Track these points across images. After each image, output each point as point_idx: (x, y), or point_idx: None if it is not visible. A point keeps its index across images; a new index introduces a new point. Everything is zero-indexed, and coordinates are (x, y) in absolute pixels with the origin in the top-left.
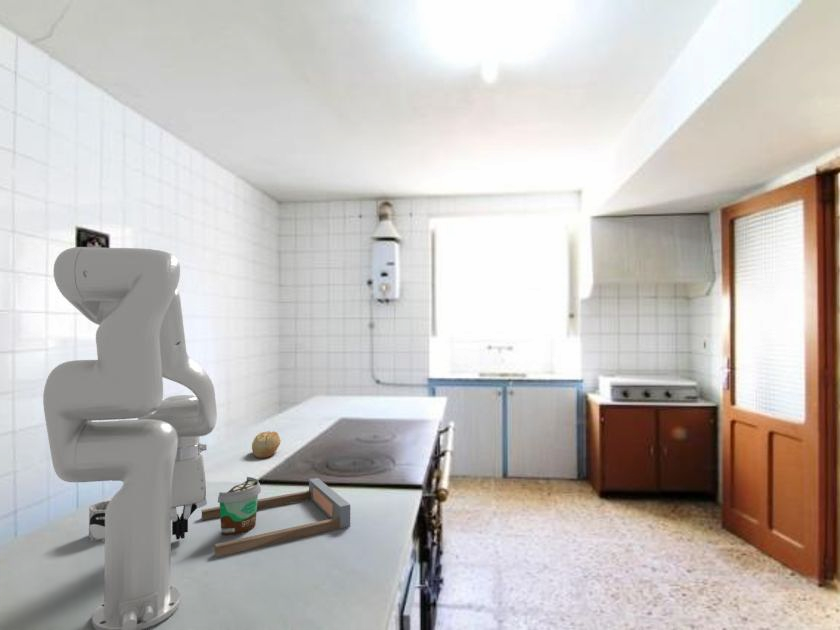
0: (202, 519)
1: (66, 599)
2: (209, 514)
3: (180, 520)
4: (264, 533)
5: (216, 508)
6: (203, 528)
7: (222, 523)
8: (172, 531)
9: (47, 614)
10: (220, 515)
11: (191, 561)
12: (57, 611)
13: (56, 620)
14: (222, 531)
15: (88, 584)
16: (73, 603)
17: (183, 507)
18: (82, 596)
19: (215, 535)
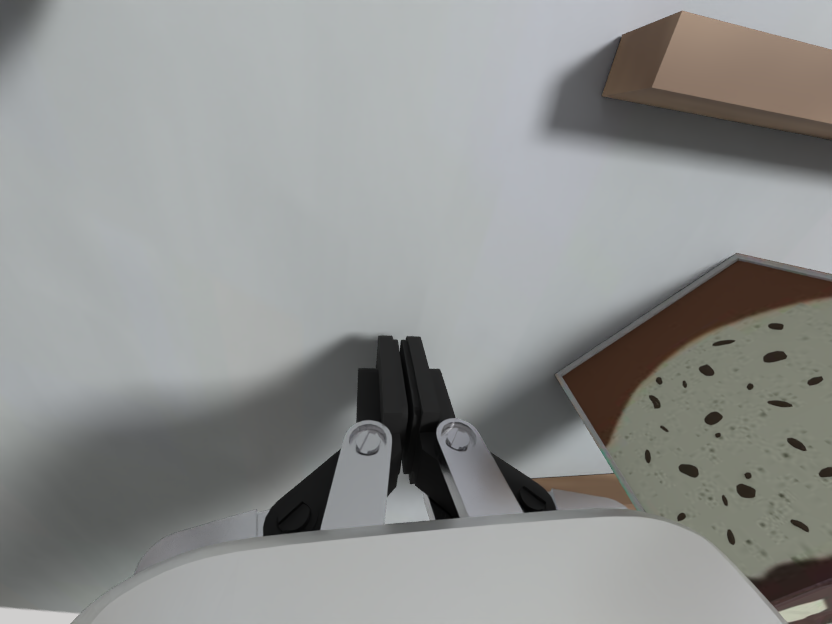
0: (605, 96)
1: (27, 557)
2: (671, 102)
3: (407, 438)
4: (632, 504)
5: (763, 82)
6: (538, 251)
7: (587, 426)
8: (357, 393)
9: (12, 592)
10: (609, 463)
11: (397, 494)
12: (37, 588)
13: (61, 608)
14: (566, 391)
15: (61, 513)
16: (68, 573)
17: (453, 486)
18: (79, 555)
19: (538, 361)
